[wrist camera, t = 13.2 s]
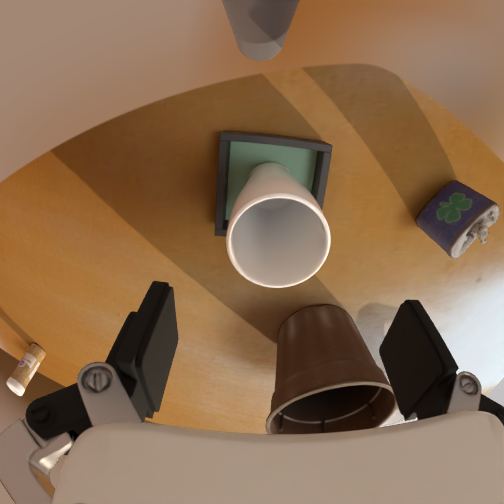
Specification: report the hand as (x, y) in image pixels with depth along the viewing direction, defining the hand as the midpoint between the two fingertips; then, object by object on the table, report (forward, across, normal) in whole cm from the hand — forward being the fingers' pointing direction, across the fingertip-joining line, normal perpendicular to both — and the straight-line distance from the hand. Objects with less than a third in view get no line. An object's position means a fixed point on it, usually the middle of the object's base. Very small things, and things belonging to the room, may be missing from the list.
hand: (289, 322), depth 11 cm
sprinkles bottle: (+23, +49, +41) cm, 68 cm away
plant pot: (+23, -10, +23) cm, 34 cm away
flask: (+23, -23, 0) cm, 33 cm away
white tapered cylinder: (+23, 0, +1) cm, 23 cm away
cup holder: (+23, 0, +1) cm, 23 cm away
